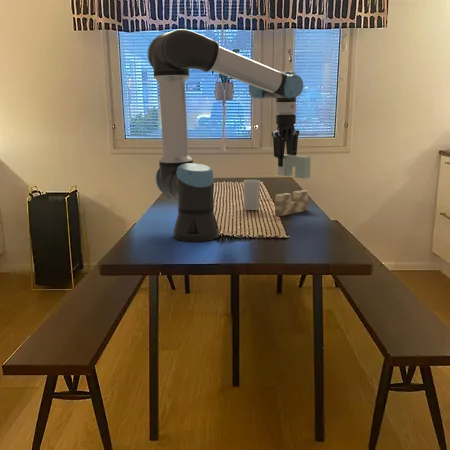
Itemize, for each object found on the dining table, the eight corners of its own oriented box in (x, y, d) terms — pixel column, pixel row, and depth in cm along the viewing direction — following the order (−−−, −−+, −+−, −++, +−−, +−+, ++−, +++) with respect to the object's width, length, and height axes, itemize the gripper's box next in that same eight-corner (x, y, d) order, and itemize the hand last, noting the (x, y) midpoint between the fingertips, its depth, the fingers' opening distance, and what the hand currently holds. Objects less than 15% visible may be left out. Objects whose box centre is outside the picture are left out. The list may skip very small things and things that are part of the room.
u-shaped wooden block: (280, 216, 181) (281, 195, 179) (275, 214, 184) (275, 194, 182) (307, 210, 191) (308, 191, 189) (301, 208, 194) (302, 190, 192)
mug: (259, 211, 190) (259, 182, 187) (242, 210, 191) (242, 182, 188) (260, 206, 200) (260, 178, 197) (244, 205, 200) (245, 178, 197)
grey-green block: (304, 178, 175) (305, 157, 173) (278, 174, 186) (278, 154, 184) (309, 177, 177) (310, 156, 175) (283, 174, 188) (283, 154, 186)
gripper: (278, 114, 171) (277, 177, 177) (307, 113, 181) (305, 173, 187) (264, 114, 177) (264, 175, 183) (293, 113, 187) (292, 171, 193)
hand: (285, 174), depth 185 cm, fingers closed on grey-green block, 3 cm apart
